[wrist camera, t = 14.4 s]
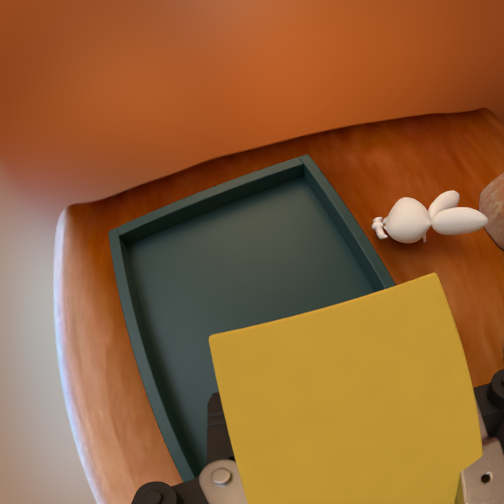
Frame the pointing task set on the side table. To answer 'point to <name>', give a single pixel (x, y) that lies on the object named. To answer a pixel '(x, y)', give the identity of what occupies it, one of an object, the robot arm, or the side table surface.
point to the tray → (231, 281)
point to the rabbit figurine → (429, 219)
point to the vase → (494, 209)
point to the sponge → (351, 401)
